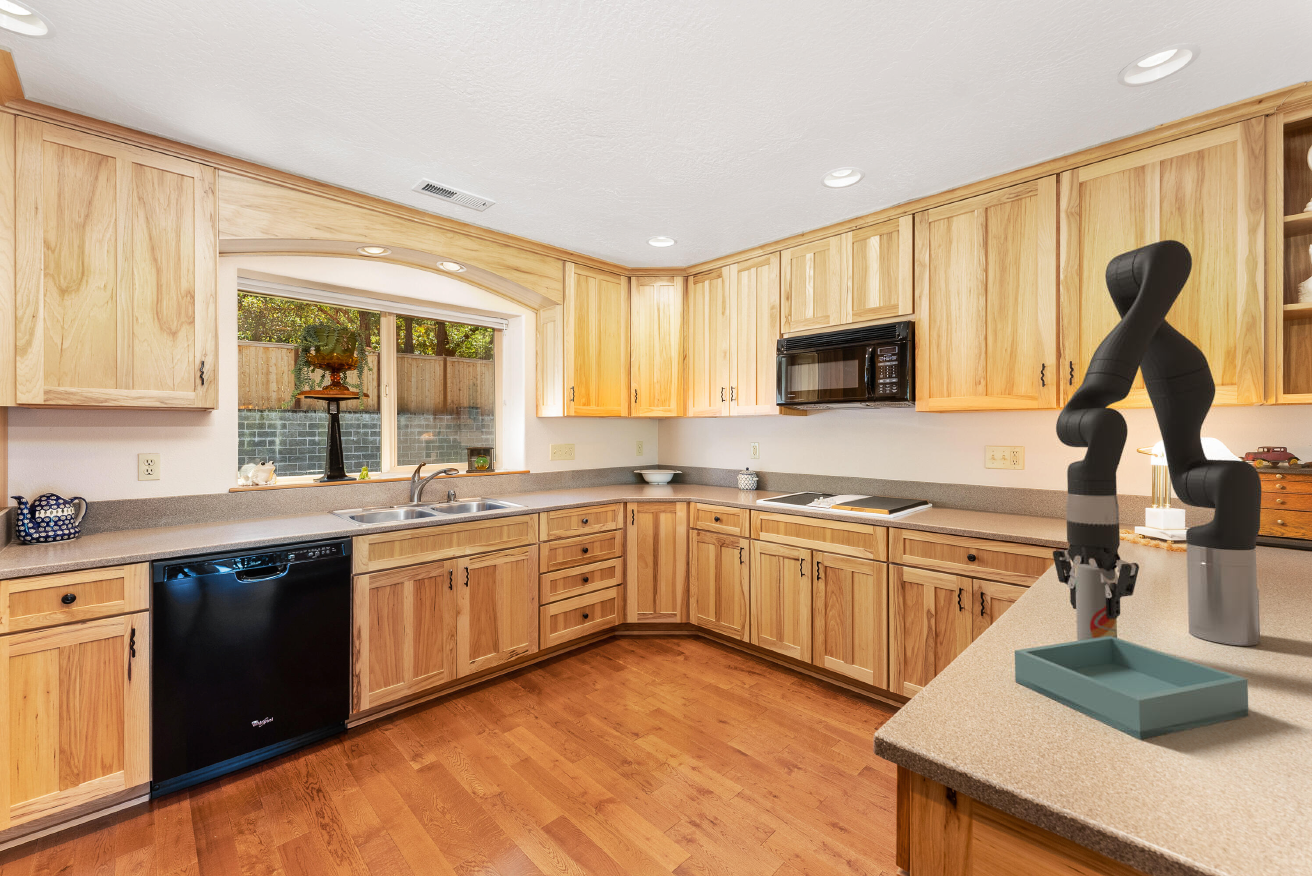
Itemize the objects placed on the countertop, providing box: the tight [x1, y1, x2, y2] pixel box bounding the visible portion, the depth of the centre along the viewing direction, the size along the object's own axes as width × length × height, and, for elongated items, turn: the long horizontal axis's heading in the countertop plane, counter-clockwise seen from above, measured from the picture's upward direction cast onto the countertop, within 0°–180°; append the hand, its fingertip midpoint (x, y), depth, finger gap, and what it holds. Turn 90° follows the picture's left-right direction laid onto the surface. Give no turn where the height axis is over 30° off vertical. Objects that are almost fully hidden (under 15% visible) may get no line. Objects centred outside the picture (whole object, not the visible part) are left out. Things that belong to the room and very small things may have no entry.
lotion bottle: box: [1075, 547, 1118, 641], centre depth 101 cm, size 6×6×20 cm
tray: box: [1014, 636, 1249, 741], centre depth 83 cm, size 20×18×5 cm
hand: (1094, 612), depth 101 cm, fingers closed on lotion bottle, 5 cm apart
